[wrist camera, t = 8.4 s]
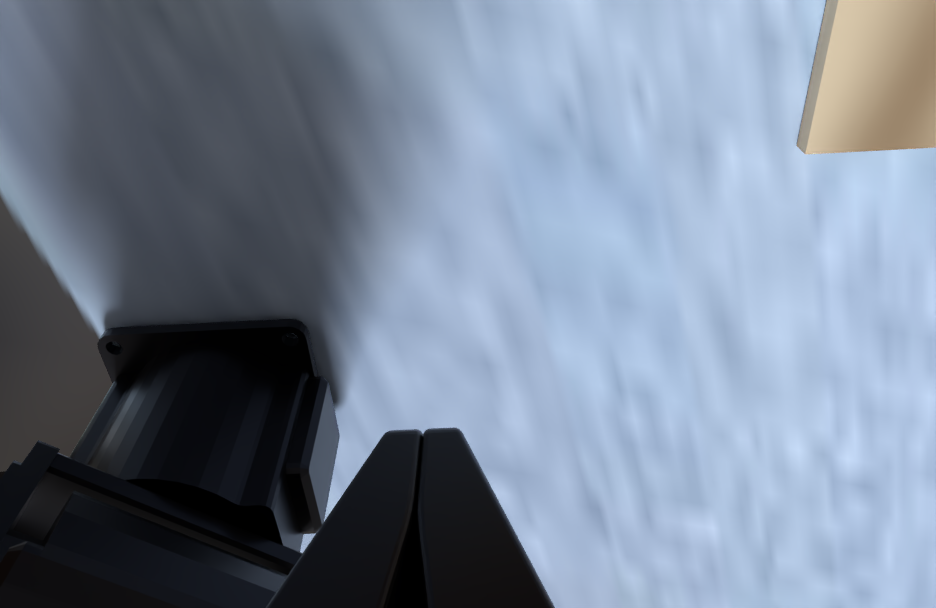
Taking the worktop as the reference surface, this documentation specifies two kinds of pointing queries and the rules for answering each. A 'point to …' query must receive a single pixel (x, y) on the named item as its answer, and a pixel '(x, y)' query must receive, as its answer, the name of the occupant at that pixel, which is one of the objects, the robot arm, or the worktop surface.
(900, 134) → the serving board
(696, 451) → the worktop surface
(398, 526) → the robot arm
